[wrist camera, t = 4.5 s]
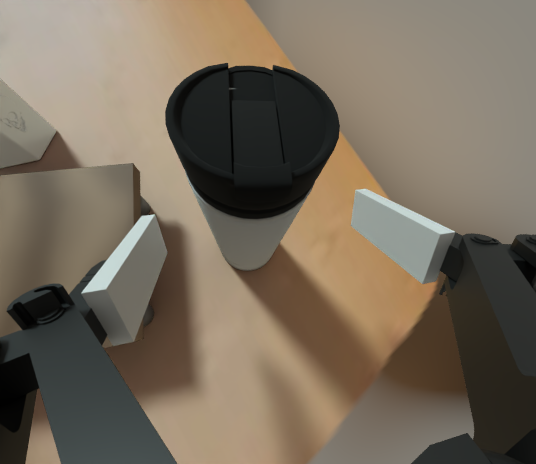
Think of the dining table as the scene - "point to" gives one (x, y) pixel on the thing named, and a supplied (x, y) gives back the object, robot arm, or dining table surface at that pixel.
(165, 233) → the dining table surface
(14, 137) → the jar
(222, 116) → the travel mug
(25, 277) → the peg shelf
